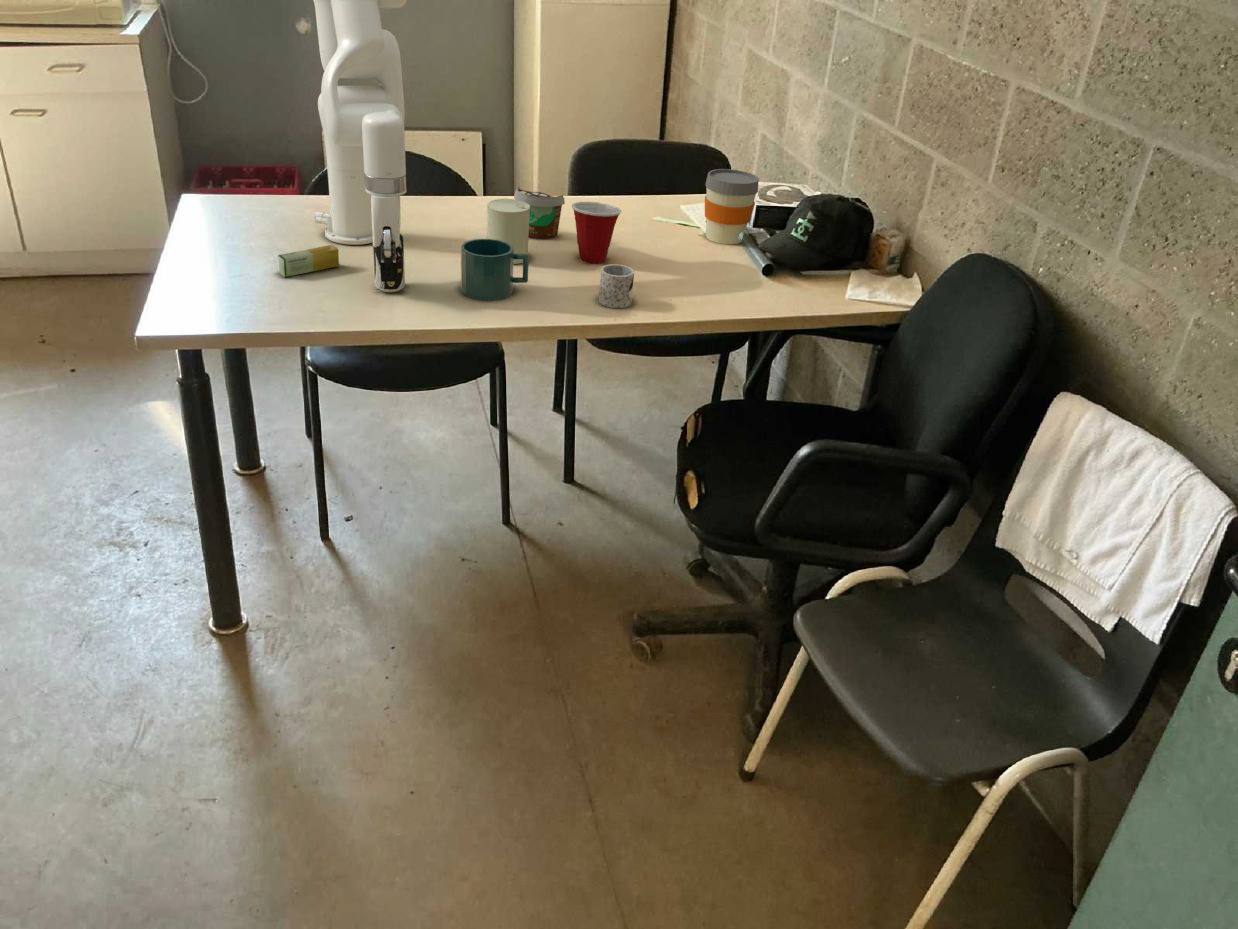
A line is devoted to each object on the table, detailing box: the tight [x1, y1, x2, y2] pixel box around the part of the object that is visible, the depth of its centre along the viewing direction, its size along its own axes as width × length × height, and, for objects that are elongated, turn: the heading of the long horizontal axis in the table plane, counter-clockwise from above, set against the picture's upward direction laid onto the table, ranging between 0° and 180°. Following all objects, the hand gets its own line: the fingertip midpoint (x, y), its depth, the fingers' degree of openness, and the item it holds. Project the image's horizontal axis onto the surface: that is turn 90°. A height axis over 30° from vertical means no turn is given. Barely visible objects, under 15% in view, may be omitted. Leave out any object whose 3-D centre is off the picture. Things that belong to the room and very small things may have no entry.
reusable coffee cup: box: [704, 168, 760, 245], centre depth 232 cm, size 13×13×15 cm
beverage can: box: [372, 227, 406, 293], centre depth 188 cm, size 6×6×12 cm
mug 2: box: [598, 263, 635, 309], centre depth 195 cm, size 10×7×7 cm, turn 17°
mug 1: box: [460, 238, 530, 301], centre depth 193 cm, size 13×10×9 cm
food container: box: [513, 185, 566, 240], centre depth 223 cm, size 12×6×10 cm, turn 68°
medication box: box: [277, 244, 340, 279], centre depth 195 cm, size 12×3×4 cm, turn 131°
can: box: [486, 198, 530, 265], centre depth 209 cm, size 9×9×12 cm
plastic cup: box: [571, 201, 622, 265], centre depth 212 cm, size 11×11×12 cm
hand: (389, 273), depth 190 cm, fingers open, 6 cm apart
